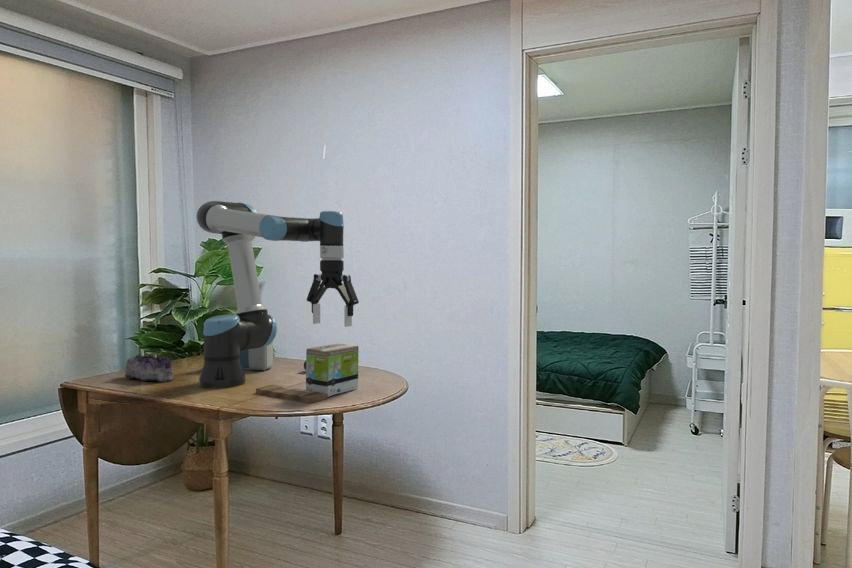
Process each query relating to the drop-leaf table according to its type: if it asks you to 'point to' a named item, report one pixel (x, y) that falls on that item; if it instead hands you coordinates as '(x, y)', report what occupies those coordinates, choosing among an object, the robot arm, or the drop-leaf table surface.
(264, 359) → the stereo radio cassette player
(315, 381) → the tea box
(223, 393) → the drop-leaf table surface
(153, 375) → the geode
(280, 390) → the walnut plank
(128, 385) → the drop-leaf table surface
